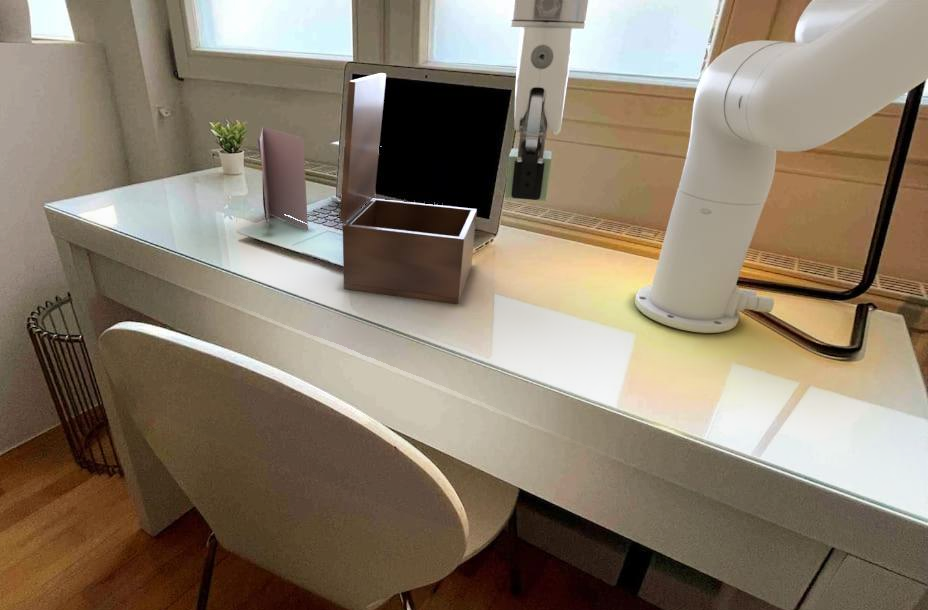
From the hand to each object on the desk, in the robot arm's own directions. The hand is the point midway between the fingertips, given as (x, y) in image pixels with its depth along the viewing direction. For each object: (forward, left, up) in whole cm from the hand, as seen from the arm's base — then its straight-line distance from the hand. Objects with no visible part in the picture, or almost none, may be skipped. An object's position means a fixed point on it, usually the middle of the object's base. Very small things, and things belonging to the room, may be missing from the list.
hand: (526, 190), depth 66 cm
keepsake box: (+14, -6, -15) cm, 22 cm away
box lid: (+21, -6, +2) cm, 22 cm away
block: (0, 0, 0) cm, 0 cm away
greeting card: (+40, -22, -15) cm, 49 cm away
